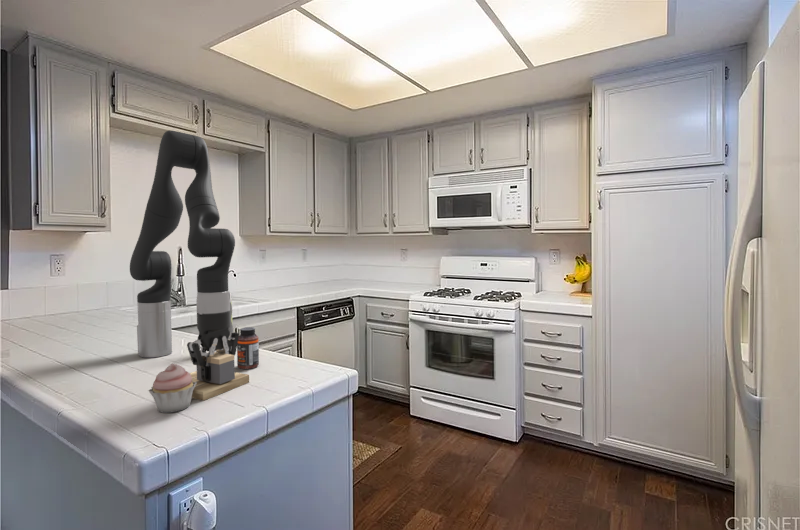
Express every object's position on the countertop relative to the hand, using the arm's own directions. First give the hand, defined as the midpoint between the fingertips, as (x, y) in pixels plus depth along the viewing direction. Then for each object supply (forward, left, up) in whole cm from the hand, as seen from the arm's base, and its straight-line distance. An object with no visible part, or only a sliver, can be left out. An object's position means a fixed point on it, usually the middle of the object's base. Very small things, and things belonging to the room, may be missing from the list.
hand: (215, 377), depth 105 cm
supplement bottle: (-7, +17, -3) cm, 19 cm away
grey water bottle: (-26, +26, -3) cm, 37 cm away
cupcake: (+2, -12, -3) cm, 13 cm away
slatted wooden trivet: (-4, 0, -3) cm, 4 cm away
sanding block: (0, 0, 0) cm, 0 cm away
